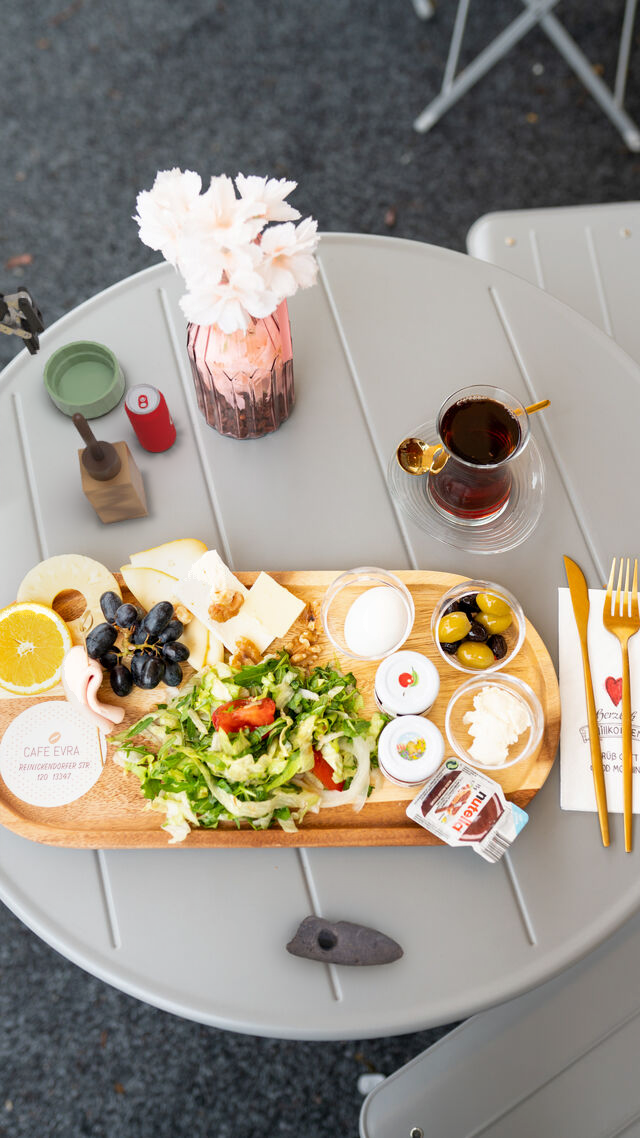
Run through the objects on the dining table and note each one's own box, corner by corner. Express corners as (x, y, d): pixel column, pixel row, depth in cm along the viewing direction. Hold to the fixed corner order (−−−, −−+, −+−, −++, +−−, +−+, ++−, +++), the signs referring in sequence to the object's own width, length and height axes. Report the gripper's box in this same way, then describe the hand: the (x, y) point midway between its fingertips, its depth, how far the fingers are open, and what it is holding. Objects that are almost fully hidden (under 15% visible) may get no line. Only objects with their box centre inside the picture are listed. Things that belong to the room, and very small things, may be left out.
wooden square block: (104, 524, 129) (82, 491, 118) (98, 484, 132) (77, 449, 120) (148, 515, 130) (131, 482, 118) (142, 476, 132) (125, 440, 121)
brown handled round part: (89, 484, 118) (58, 435, 105) (85, 454, 120) (55, 402, 107) (123, 477, 119) (97, 428, 105) (119, 447, 120) (93, 395, 107)
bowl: (56, 427, 135) (47, 411, 130) (49, 365, 139) (39, 347, 134) (130, 413, 136) (123, 397, 131) (121, 352, 140) (113, 334, 135)
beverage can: (175, 418, 136) (161, 377, 124) (179, 451, 133) (165, 412, 122) (137, 424, 135) (120, 383, 124) (140, 457, 133) (123, 419, 122)
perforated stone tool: (404, 931, 109) (409, 935, 102) (398, 974, 107) (403, 981, 101) (293, 909, 110) (291, 911, 103) (286, 951, 108) (283, 957, 102)
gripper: (9, 233, 94) (53, 322, 109) (-118, 254, 93) (-56, 340, 108) (14, 286, 91) (58, 369, 106) (-116, 308, 90) (-53, 389, 105)
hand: (1, 355), depth 107 cm, fingers open, 8 cm apart
